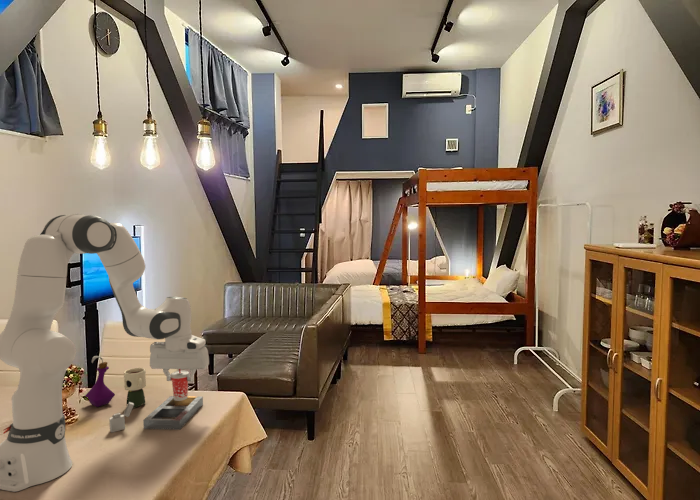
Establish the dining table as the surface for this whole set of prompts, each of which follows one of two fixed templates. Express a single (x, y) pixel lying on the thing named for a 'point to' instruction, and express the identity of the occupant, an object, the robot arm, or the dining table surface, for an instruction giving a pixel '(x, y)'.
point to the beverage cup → (180, 385)
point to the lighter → (120, 419)
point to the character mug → (135, 385)
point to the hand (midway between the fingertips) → (180, 380)
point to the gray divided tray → (173, 413)
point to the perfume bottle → (100, 387)
